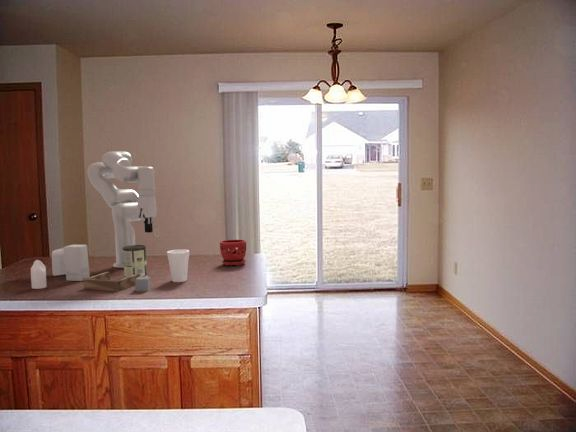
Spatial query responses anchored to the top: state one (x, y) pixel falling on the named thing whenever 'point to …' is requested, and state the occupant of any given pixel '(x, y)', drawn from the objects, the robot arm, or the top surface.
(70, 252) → the skincare box
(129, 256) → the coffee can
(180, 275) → the foam cup
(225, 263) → the plant pot
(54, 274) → the photo printer
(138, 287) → the grey block
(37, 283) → the white tall rounded piece
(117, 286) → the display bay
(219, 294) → the top surface
